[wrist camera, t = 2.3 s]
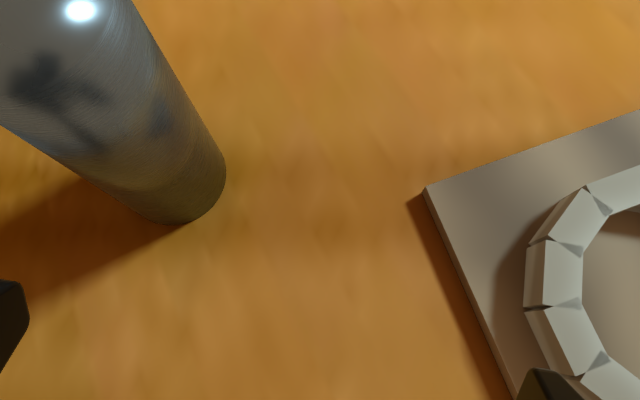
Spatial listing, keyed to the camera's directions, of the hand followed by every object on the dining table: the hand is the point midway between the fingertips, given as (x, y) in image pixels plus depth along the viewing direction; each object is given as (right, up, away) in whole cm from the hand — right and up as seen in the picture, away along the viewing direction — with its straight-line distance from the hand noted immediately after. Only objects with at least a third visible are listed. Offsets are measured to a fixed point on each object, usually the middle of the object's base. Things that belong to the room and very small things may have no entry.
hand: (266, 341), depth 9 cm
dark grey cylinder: (-6, +4, +15) cm, 17 cm away
